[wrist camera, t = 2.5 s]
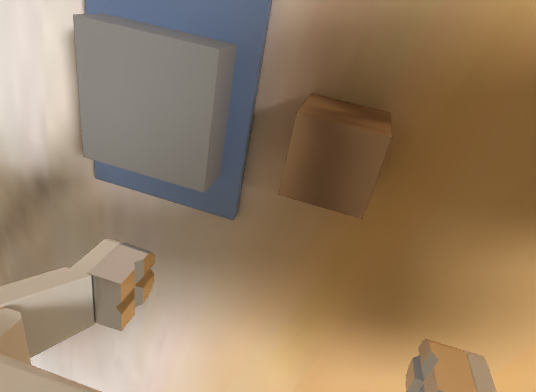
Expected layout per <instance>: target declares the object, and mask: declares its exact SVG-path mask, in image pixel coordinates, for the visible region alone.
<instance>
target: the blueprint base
mask: <svg viewBox="0 0 536 392" xmlns="http://www.w3.org/2000/svg"><path fill="white" fill-rule="evenodd" d="M271 4H272V0H85V11H86V14H75V15H73V23H74V36H75V50H76V64H77V77H78V91H79V105H80V118H81V132H82V146H83V157H86V158H89V159H92V160H94V167H95V178H96V179H100V180H103V181H106V182H109V183H113V184H116V185H119V186H123V187H126V188H129V189H132V190H136V191H139V192H142V193H145V194H149V195H152V196H155V197H159V198H162V199H165V200H168V201H172V202H175V203H178V204H182V205H185V206H188V207H191V208H195V209H198V210H201V211H205V212H208V213H211V214H214V215H218V216H221V217H224V218H228V219H231V220H234V219H235V217H236V216H237V212H238V206H239V200H240V194H241V187H242V181H243V175H244V169H245V163H246V157H247V151H248V145H249V139H250V133H251V126H252V120H253V114H254V108H255V102H256V96H257V90H258V84H259V78H260V71H261V65H262V59H263V53H264V47H265V41H266V35H267V29H268V23H269V16H270V10H271Z"/></svg>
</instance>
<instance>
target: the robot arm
mask: <svg viewBox="0 0 536 392" xmlns="http://www.w3.org/2000/svg"><path fill="white" fill-rule="evenodd" d="M154 263H155V254H153V253H152V252H150V251H147V250H144V249H141V248H138V247H135V246H132V245H130V244H127V243H122V242H120V241H117V240H114V239H111V238H106V239H104V240H102V241H101V242H100V243H99V244H98V245H97V246H95V247H94V248H93V249H92V250H91V251H90V252H88V253H87V254H86V255H85V256H84V257H83V258H81V259H80V260H79V261H78V262H77V263H76V264H74V265H73V266H72V267H71V268H68V267H63V268H60V269H56V270H53V271H49V272H46V273H43V274H39V275H36V276H32V277H29V278H26V279H22V280H19V281H15V282H12V283H9V284H5V285H2V286H0V392H101V391H99V390H96V389H93V388H91V387H88V386H85V385H83V384H80V383H77V382H75V381H72V380H69V379H67V378H64V377H61V376H59V375H56V374H53V373H51V372H48V371H45V370H43V369H40V368H37V367H35V366H32V365H31V360H30V358H31V357H33V356H35V355H37V354H39V353H41V352H42V351H44V350H46V349H48V348H50V347H52V346H54V345H56V344H58V343H60V342H61V341H63V340H65V339H67V338H69V337H71V336H73V335H75V334H77V333H79V332H80V331H82V330H84V329H86V328H88V327H90V326H92V325H94V322H95V323H98V324H101V325H104V326H107V327H110V328H114V329H117V330H120V331H122V330H123V328H124V327H125V326H126V325H127V323H128V322H129V321H130V320H131V318H132V317H133V316H134V313H135V307H136V306H139V305H141V304H143V303H144V301H145V300H146V299H147V297H148V295H149V293H150V291H151V289H152V286H153V282H154V273H153V272H152V270H151V267H152V266H153V265H154ZM406 392H497V391H496V388H495V385H494V382H493V379H492V376H491V373H490V370H489V368H488V365H487V362H486V359H485V358H484V357H483V356H481V355H478V354H475V353H471V352H468V351H465V350H461V349H457V348H454V347H451V346H448V345H444V344H441V343H438V342H435V341H431V340H428V339H425V340H424V341H422V343H421V344H420V346H419V356H417V357H415V358H412V360H411V362H410V364H409V366H408V370H407V374H406Z"/></svg>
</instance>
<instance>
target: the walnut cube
mask: <svg viewBox="0 0 536 392" xmlns="http://www.w3.org/2000/svg"><path fill="white" fill-rule="evenodd" d="M391 139H392V130H391V121H390V113H388V112H384V111H380V110H376V109H372V108H368V107H364V106H360V105H355V104H351V103H347V102H343V101H339V100H335V99H331V98H327V97H323V96H319V95H315V94H311V95H310V96H309V97H308V99H307V100H306V101H305V102H304V104H303V105H302V106H301V108H300V109H299V110H298V112H297V113H296V118H295V122H294V127H293V131H292V136H291V140H290V145H289V149H288V154H287V158H286V163H285V167H284V172H283V176H282V181H281V185H280V190H279V194H278V195H281V196H285V197H288V198H292V199H295V200H299V201H302V202H306V203H309V204H312V205H316V206H319V207H323V208H326V209H330V210H333V211H337V212H340V213H344V214H347V215H351V216H354V217H357V218H361V219H363V216H364V213H365V210H366V208H367V205H368V202H369V199H370V197H371V194H372V191H373V188H374V186H375V183H376V180H377V177H378V175H379V172H380V169H381V167H382V164H383V161H384V158H385V156H386V153H387V150H388V147H389V145H390V142H391Z"/></svg>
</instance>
